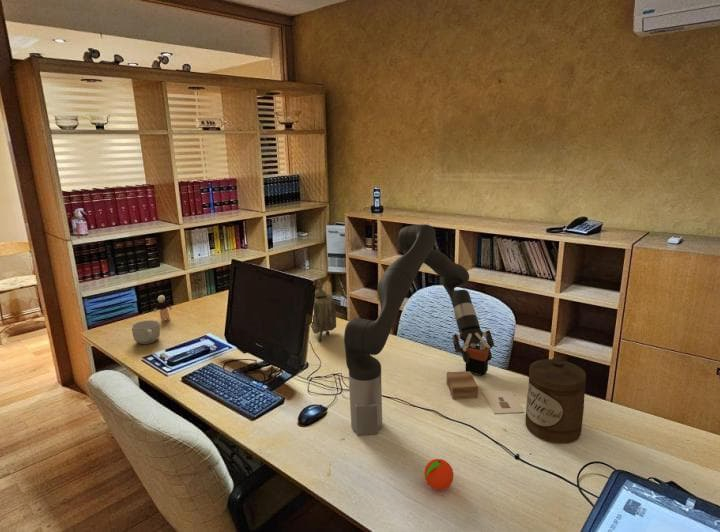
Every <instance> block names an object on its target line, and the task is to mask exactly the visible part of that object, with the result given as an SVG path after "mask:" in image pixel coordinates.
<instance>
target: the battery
mask: <svg viewBox="0 0 720 532" xmlns="http://www.w3.org/2000/svg"><path fill="white" fill-rule="evenodd" d="M466 351H467V353H468V357H469V360H470V362H469V363H466V362H465V368H464V369H465V372H466V371H470V372H471V374H475V375H478V376H486V375H485V374H486V373H487V372H488V370H489V369H488V368H489V361H488V353H489V348H487V347H484V346H479V345H478V344H477V345H476V344H474V343H471V344H470V345H468V346H467V348H466Z"/></svg>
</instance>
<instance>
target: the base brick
mask: <svg viewBox="0 0 720 532" xmlns="http://www.w3.org/2000/svg"><path fill="white" fill-rule="evenodd" d="M446 385H447V388H448V390H449V392H450V396H451V398H452V399H454V400H458V399H478V396H479V386H478V384H477V382H476V379H475V377H474V376H473V373H471V372H470V371H466V370H465V371H448V372H447V371H446Z"/></svg>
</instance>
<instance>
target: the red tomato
mask: <svg viewBox="0 0 720 532" xmlns="http://www.w3.org/2000/svg"><path fill="white" fill-rule="evenodd" d="M423 474H424V479H425V481H426V483H427V485H428V486H429V487H430V488H431V489H434V490H436V491H443V490H446V489H448V488H449V487H450V486H451V485H452V483H453V479H454V470H453V468H452V466H451V464H450V463H448V462H447V461H446V460H445V459H442V458H435V459H434V458H433V459H432V460H429V462H428V463H427V464H426V466H425V468H424V473H423Z"/></svg>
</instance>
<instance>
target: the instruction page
mask: <svg viewBox="0 0 720 532" xmlns="http://www.w3.org/2000/svg"><path fill="white" fill-rule="evenodd" d="M482 394H483V396H484V397H485V399H486V402H487V404H488V405H489V407H490V409H491V411H492V413H493V415H495V414H498V415H499V414H516V413H517V414H518V413H524V410H523V408H522V407H521V405H520V404H519V402H518V401H517V399H516V398H515V396H514V394H513V393H512V391H511V390H498V391H497V390H496V391H483V392H482Z"/></svg>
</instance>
